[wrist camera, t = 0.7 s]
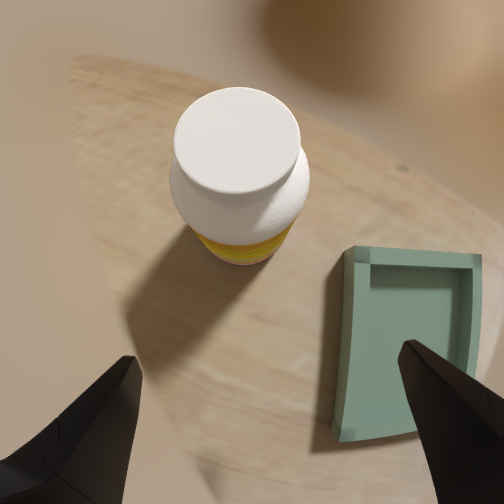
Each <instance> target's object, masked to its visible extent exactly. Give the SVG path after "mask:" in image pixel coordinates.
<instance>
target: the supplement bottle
mask: <svg viewBox="0 0 504 504" xmlns="http://www.w3.org/2000/svg"><path fill="white" fill-rule="evenodd" d="M173 151H174V157H173V160H172V164H171V168H170V176H169V181H170V190H171V195H172V199H173V201H174V204H175V206H176V208H177V210H178V212H179V213H180V215H181V216H182V218H183V219H184V220H185V221H186V223H187V224H188V225H189V226H190V227H191V229H192V230H193V231H194V232H195V234H196V235H197V236H198V237H199V239H200V240H201V241H202V242H203V244H204V245H205V246H206V247H207V248H208V249H209V251H210V252H211V253H213V254H214V255H215V256H216V257H218V258H219V259H221V260H223V261H225V262H228V263H231V264H236V265H250V264H255V263H258V262H261V261H263V260H265V259H267V258H268V257H270V256H271V255H272V254H274V253H275V252H276V251H277V250H278V248H279V247H280V246H281V244H282V243H283V241H284V239H285V238H286V236H287V234H288V232H289V230H290V228H291V227H292V225H293V223H294V221H295V219H296V218H297V216H298V214H299V212H300V211H301V209H302V207H303V204H304V202H305V200H306V197H307V193H308V189H309V179H310V175H309V167H308V162H307V159H306V156H305V153H304V151H303V149H302V147H301V145H300V131H299V127H298V124H297V122H296V119H295V117H294V116H293V114H292V113H291V112H290V110H289V109H288V108H287V107H286V106H285V105H284V104H283V103H282V102H281V101H279V100H278V99H277V98H275V97H273V96H271V95H270V94H268V93H265V92H263V91H260V90H256V89H251V88H242V87H233V88H225V89H221V90H217V91H214V92H211V93H209V94H207V95H205V96H203V97H201V98H199V99H198V100H197V101H195V102H194V103H193V104H192V105H190V106H189V107H188V108H187V110H186V111H185V112H184V113H183V115H182V116H181V118H180V119H179V121H178V123H177V125H176V128H175V131H174V136H173Z"/></svg>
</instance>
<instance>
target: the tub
mask: <svg viewBox="0 0 504 504" xmlns="http://www.w3.org/2000/svg"><path fill="white" fill-rule="evenodd" d="M481 309H482V260H481V255H479V254H466V253H453V252H439V251H426V250H412V249H397V248H382V247H367V246H353V247H351V248H349V249H347V250H345V251H344V281H343V307H342V326H341V341H340V354H339V365H338V375H337V385H336V394H335V403H334V410H333V418H332V425H331V431H332V432H333V434H334V435H335V437H336V438H337V440H338V442H349V441H358V440H366V439H374V438H380V437H387V436H393V435H398V434H404V433H409V432H414V431H418V430H417V427H416V424H415V421H414V418H413V415H412V413H411V410H410V407H409V404H408V401H407V398H406V394H405V390H404V386H403V382H402V378H401V374H400V370H399V366H398V356H399V353H400V350H401V348H402V345H403V343H404V341H406V340H411V339H416V340H417V341H419V342H420V343H422V344H423V345H425V346H426V347H428V348H429V349H431V350H432V351H434V352H435V353H437V354H438V355H440V356H441V357H443V358H444V359H446V360H447V361H449V362H450V363H452V364H453V365H455V366H456V367H458V368H459V369H460V370H462V371H463V372H465V373H466V374H468V375H469V376H471V377H472V378H475V372H476V365H477V358H478V349H479V339H480V327H481Z"/></svg>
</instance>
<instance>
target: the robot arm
mask: <svg viewBox="0 0 504 504" xmlns="http://www.w3.org/2000/svg"><path fill="white" fill-rule="evenodd" d="M398 366H399V370H400V374H401V378H402V382H403V386H404V390H405V394H406V398H407V401H408V404H409V407H410V410H411V413H412V415H413V418H414V421H415V424H416V427H417V430H418V433H419V436H420V439H421V443H422V446H423V449H424V452H425V456H426V459H427V462H428V466H429V469H430V473H431V476H432V480H433V484H434V487H435V491H436V496H437V500H438V504H504V399H503V398H502V397H500V396H499V395H497V394H496V393H494V392H493V391H491V390H490V389H488V388H486V387H485V386H484V385H482V384H481V383H480V382H478V381H477V380H475V379H474V378H472V377H471V376H469V375H468V374H466V373H465V372H463V371H462V370H460V369H459V368H458V367H456V366H455V365H453V364H452V363H450V362H449V361H447V360H446V359H444V358H443V357H441V356H440V355H438V354H437V353H435V352H434V351H432V350H431V349H429V348H428V347H426V346H425V345H423V344H422V343H420V342H419V341H417V340H416V339H411V340H406V341H404V343H403V345H402V348H401V350H400V353H399V356H398ZM142 378H143V376H142V371H141V369H140V366H139V364H138V361H137V359H136V357H135V356H126V355H125V356H123V357H121V358H120V359H119V360H118V361H117V362H116V363H115V364H114V365H113V366H111V367H110V368H109V369H108V370H107V371H106V372H105V373H104V374H103V375H102V376H101V377H100V378H98V379H97V380H96V381H95V382H94V383H93V384H92V385H91V386H90V387H89V388H88V389H87V390H86V391H85V392H83V393H82V394H81V395H80V396H79V397H78V398H77V399H76V400H75V401H74V402H73V403H72V404H70V405H69V406H68V407H67V408H66V409H65V410H64V411H63V412H62V413H61V414H60V415H59V416H58V418H55V419H54V420H53V421H52V422H51V423H50V424H49V425H48V426H47V427H46V428H44V429H43V430H42V431H41V432H40V433H39V434H37V435H36V436H35V437H34V438H32V439H31V440H30V441H29V442H27V443H26V444H25V445H23V446H22V447H21V448H19V449H18V450H16V451H15V452H14V453H13V454H11V455H10V456H8V457H7V458H5V459H3V460H0V504H122V498H123V493H124V487H125V481H126V475H127V470H128V464H129V459H130V453H131V449H132V444H133V439H134V435H135V430H136V425H137V419H138V414H139V405H140V396H141V387H142Z"/></svg>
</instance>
